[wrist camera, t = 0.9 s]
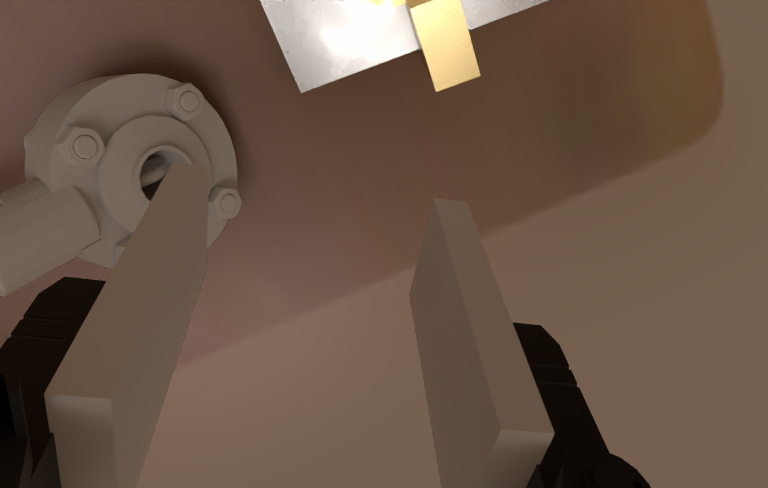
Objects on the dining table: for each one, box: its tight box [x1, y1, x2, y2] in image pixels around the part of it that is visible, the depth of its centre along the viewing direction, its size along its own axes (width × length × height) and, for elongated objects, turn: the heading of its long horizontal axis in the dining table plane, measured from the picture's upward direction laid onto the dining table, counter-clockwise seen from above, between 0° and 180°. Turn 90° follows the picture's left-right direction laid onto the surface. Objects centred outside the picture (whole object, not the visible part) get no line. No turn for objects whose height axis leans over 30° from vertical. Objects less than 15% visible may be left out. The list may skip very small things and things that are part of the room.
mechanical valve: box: [0, 73, 242, 296], centre depth 35 cm, size 10×18×15 cm
